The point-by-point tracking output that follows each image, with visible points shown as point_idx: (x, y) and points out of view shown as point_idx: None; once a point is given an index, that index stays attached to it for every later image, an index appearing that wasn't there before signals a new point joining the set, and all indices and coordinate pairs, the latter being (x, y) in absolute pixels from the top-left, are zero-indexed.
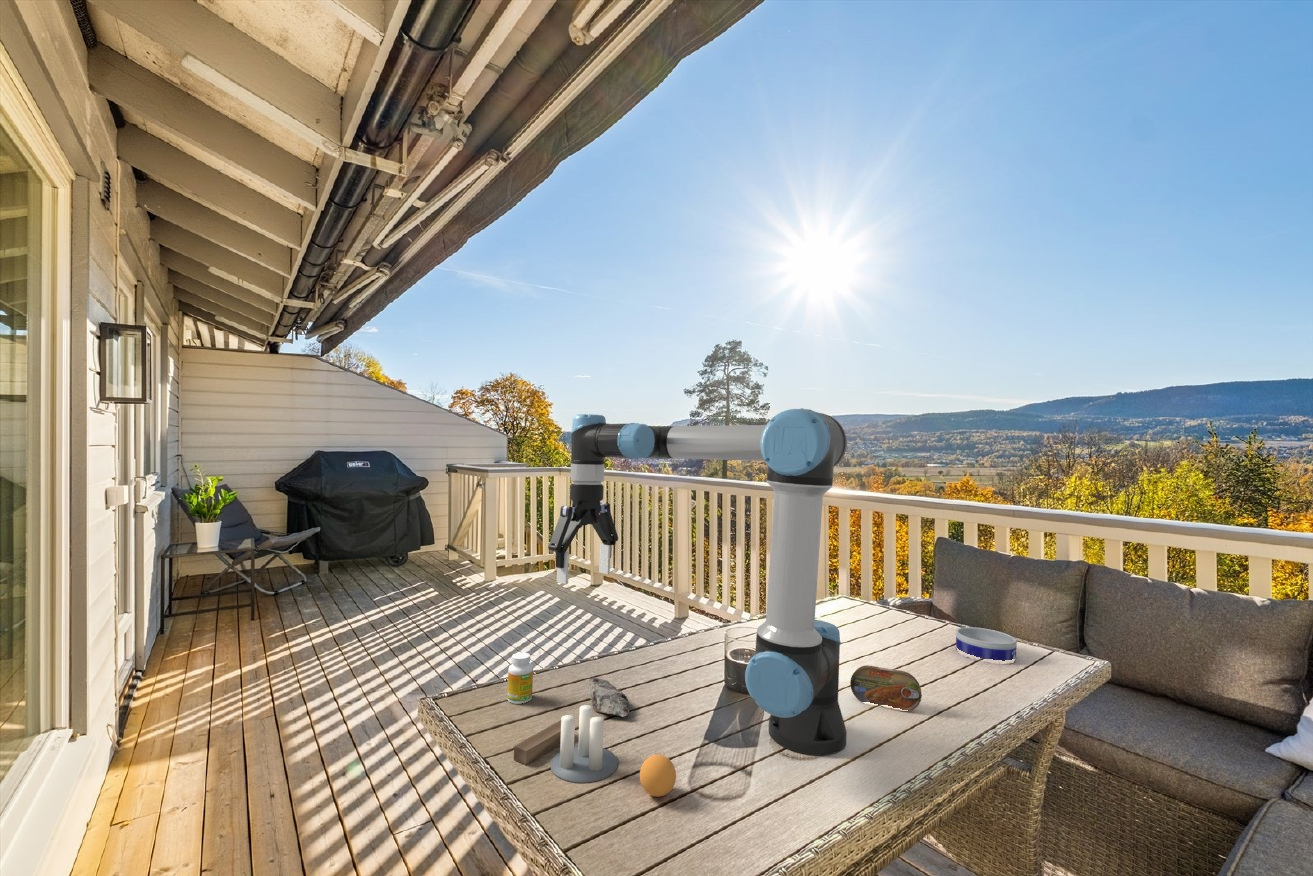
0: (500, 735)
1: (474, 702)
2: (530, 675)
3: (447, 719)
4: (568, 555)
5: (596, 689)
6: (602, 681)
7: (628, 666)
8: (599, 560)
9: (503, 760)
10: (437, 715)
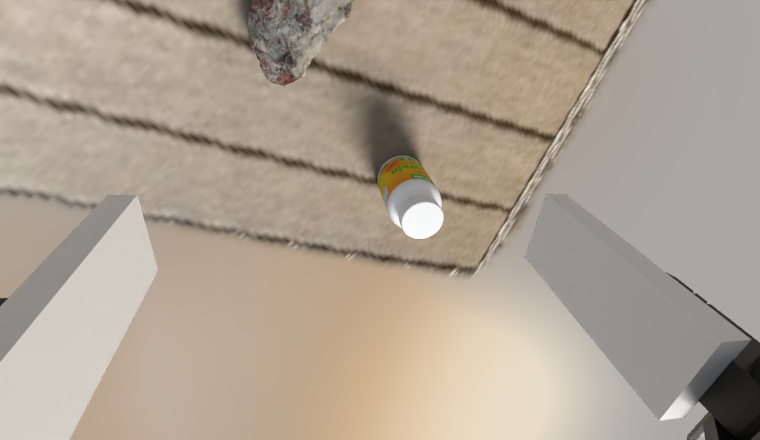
0: (529, 93)
1: (451, 222)
2: (410, 176)
3: (518, 204)
4: (706, 322)
5: (335, 14)
6: (274, 44)
7: (68, 114)
8: (121, 337)
9: (601, 16)
10: (514, 225)
